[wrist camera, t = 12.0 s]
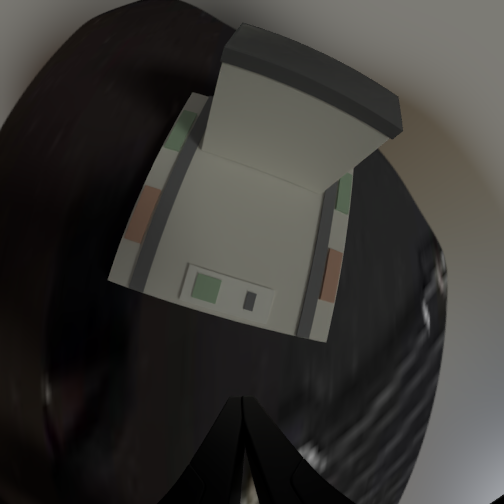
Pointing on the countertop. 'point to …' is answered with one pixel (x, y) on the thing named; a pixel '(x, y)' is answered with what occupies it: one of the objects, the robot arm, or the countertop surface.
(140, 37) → the countertop surface
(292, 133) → the switch slider
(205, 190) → the switch panel
